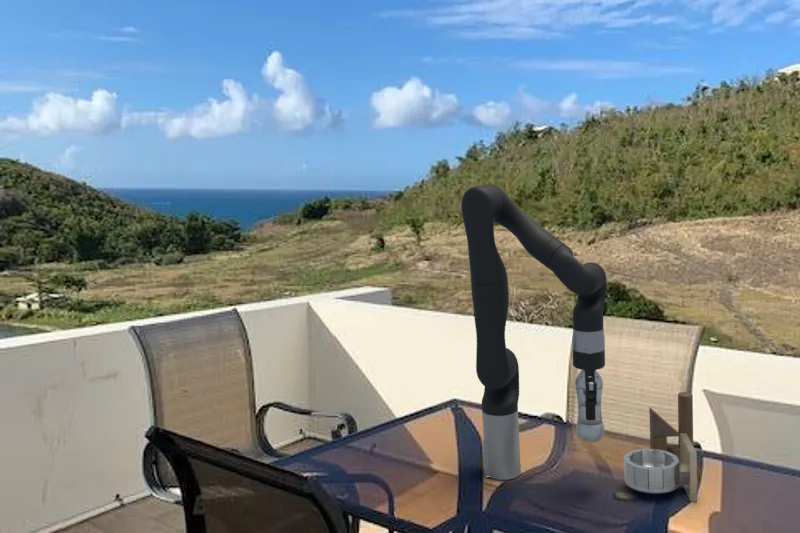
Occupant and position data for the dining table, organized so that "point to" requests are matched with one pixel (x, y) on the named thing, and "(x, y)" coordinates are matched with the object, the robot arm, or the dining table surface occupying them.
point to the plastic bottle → (584, 427)
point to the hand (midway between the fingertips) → (589, 414)
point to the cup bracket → (662, 469)
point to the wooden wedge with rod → (664, 429)
